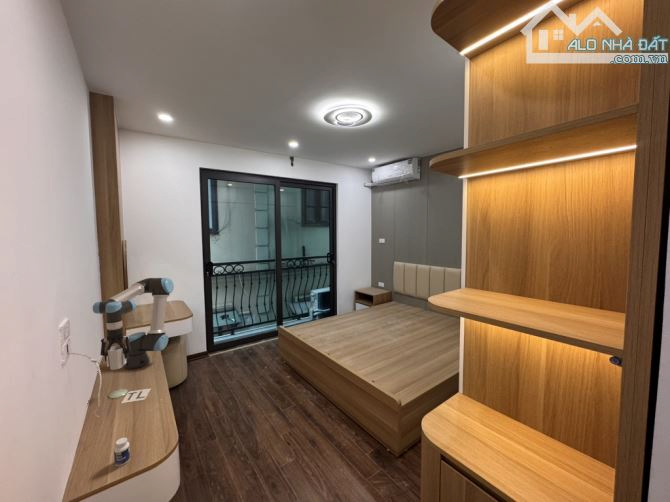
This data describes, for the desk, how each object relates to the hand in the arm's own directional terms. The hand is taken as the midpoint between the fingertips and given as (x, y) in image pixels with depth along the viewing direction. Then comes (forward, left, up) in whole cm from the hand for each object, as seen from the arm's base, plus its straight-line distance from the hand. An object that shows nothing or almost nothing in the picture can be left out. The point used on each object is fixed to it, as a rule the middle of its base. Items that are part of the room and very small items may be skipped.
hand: (116, 364), depth 168 cm
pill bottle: (+59, +22, -19) cm, 66 cm away
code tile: (+5, +11, -19) cm, 22 cm away
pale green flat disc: (0, 0, -19) cm, 19 cm away
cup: (0, 0, -2) cm, 2 cm away
